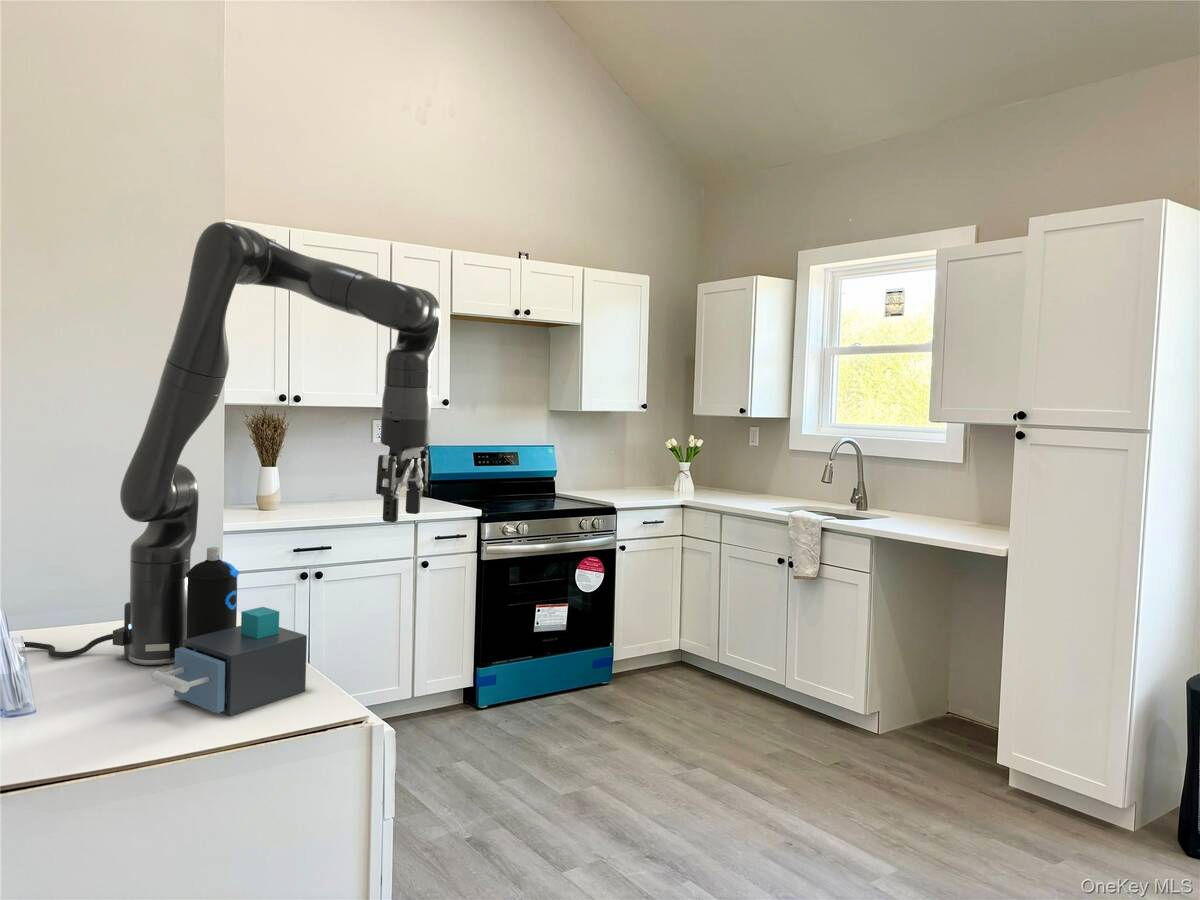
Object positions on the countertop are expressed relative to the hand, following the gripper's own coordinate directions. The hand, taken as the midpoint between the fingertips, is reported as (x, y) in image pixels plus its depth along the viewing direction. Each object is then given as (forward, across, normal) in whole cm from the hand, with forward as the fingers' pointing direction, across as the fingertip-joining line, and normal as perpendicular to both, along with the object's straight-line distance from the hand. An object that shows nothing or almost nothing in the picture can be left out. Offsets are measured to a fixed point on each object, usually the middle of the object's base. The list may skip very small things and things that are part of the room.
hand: (401, 517), depth 141 cm
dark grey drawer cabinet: (+28, +9, -21) cm, 36 cm away
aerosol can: (+29, -1, -34) cm, 44 cm away
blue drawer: (+28, +14, -22) cm, 38 cm away
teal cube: (+19, +7, -20) cm, 29 cm away
